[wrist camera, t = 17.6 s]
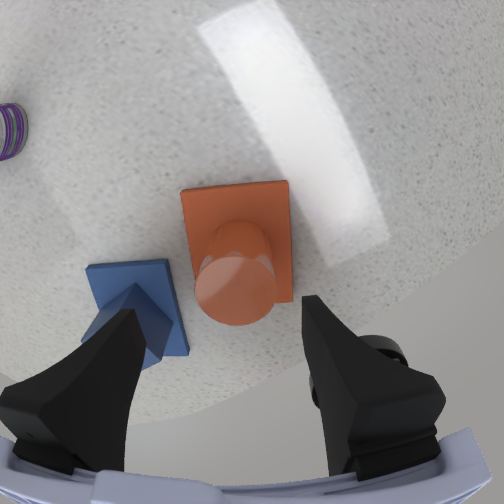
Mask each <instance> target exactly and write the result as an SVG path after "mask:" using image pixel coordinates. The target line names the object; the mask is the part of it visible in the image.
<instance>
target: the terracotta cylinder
mask: <svg viewBox="0 0 504 504" xmlns="http://www.w3.org/2000/svg"><path fill="white" fill-rule="evenodd" d="M195 296H196V299H197V302H198V304H199V306H200V307H201V309H202V310H203V311H204V312H205V313H206V314H207V315H208V316H209V317H211V318H212V319H214V320H216V321H218V322H220V323H224V324H228V325H247V324H251V323H254V322H256V321H258V320H260V319H261V318H263V317H264V316H265V315H267V314H268V313H269V311H270V310H271V309H272V307H273V306H274V304H275V301H276V298H277V283H276V276H275V268H274V261H273V254H272V247H271V242H270V239H269V237H268V236H267V234H266V233H265V231H264V230H263V229H262V228H260V227H259V226H258V225H256V224H254V223H251V222H248V221H243V220H235V221H230V222H227V223H224V224H222V225H221V226H219V227H218V228H217V229H216V230H215V231H214V232H213V233H212V235H211V237H210V239H209V241H208V244H207V247H206V250H205V253H204V257H203V260H202V263H201V266H200V269H199V272H198V275H197V278H196V282H195Z"/></svg>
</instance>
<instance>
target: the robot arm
mask: <svg viewBox="0 0 504 504" xmlns="http://www.w3.org/2000/svg"><path fill="white" fill-rule="evenodd" d="M302 339H303V345H304V351H305V356H306V359H307V362H308V366H309V369H310V373H311V376H312V379H313V383H314V386H315V389H316V393H317V396H318V401H319V405H320V411H321V417H322V423H323V430H324V437H325V444H326V452H327V460H328V469H329V477H325V478H318V479H312V480H304V481H296V482H288V483H276V484H265V485H242V486H213V485H212V484H208V483H205V482H201V481H197V480H189V479H181V478H168V477H157V476H148V475H140V474H132V473H126V472H124V457H125V441H126V431H127V424H128V417H129V411H130V406H131V402H132V399H133V395H134V392H135V389H136V386H137V382H138V379H139V376H140V373H141V369H142V366H143V363H144V357H145V351H146V345H147V342H146V340H145V337H144V334H143V332H142V329H141V326H140V324H139V321H138V318H137V315H136V312H135V309H134V308H129V309H121V310H120V311H119V312H117V313H116V314H115V315H114V316H113V317H112V318H111V319H110V320H108V321H107V322H106V323H105V324H104V325H103V326H102V327H101V328H100V329H99V330H98V331H97V332H96V333H94V334H93V335H92V336H91V337H90V338H89V339H88V340H86V341H85V342H84V343H83V344H82V345H81V346H80V347H78V348H77V349H76V350H75V351H73V352H72V353H71V354H69V355H68V356H67V357H65V358H64V359H62V360H61V361H59V362H58V363H56V364H55V365H53V366H51V367H50V368H48V369H46V370H45V371H43V372H41V373H39V374H37V375H35V376H33V377H31V378H29V379H26V380H24V381H22V382H19V383H16V384H13V385H11V386H8V387H5V388H4V390H3V392H2V394H1V396H0V420H1V421H2V423H3V424H4V425H5V426H6V427H7V428H8V429H9V430H10V431H11V432H12V433H13V434H14V435H15V436H16V437H17V441H16V443H14V442H12V441H11V440H9V439H6V438H4V437H2V436H0V493H2V494H3V495H4V496H6V497H7V498H9V499H10V500H12V501H14V502H16V503H18V504H460V503H462V502H463V501H465V500H466V499H467V498H469V497H470V496H471V495H473V494H474V493H475V492H477V491H478V490H479V489H481V488H482V487H483V486H484V485H485V484H487V483H488V482H489V481H490V480H492V475H491V472H490V470H489V468H488V465H487V463H486V461H485V459H484V456H483V454H482V452H481V450H480V448H479V445H478V443H477V441H476V439H475V437H474V435H473V433H472V431H471V429H470V428H466V429H463V430H460V431H458V432H456V433H453V434H450V435H448V436H446V437H444V438H442V439H441V440H439V441H438V442H437V439H436V437H435V435H436V434H437V429H436V427H435V425H434V423H435V422H436V420H437V418H438V416H439V415H440V413H441V412H442V410H443V408H444V405H445V403H446V397H445V395H444V394H443V391H442V389H441V388H440V386H439V384H438V383H437V381H436V380H435V378H434V377H433V376H431V375H428V374H425V373H422V372H419V371H416V370H414V369H411V368H409V367H407V366H404V365H402V364H400V361H399V359H398V358H395V359H390V358H388V357H387V356H385V355H383V354H382V353H380V352H378V351H377V350H375V349H374V348H372V347H371V346H369V345H368V344H367V343H365V342H364V341H362V340H361V339H360V338H359V337H357V336H356V335H355V334H354V333H353V332H352V331H351V330H349V329H348V328H347V327H346V326H345V325H344V324H343V323H342V322H341V321H340V320H339V319H338V318H337V317H336V316H335V315H334V314H333V313H332V312H331V310H330V309H329V308H328V307H327V306H326V305H325V304H324V303H323V301H322V300H321V299H320V298H319V297H318V296H317V295H311V296H302Z"/></svg>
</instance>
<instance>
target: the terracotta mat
mask: <svg viewBox="0 0 504 504" xmlns="http://www.w3.org/2000/svg"><path fill="white" fill-rule="evenodd" d="M180 194H181V201H182V207H183V214H184V220H185V226H186V232H187V238H188V243H189V249H190V255H191V260H192V266H193V271H194V276H195V281H196V278H197V275H198V272H199V269H200V266H201V263H202V260H203V257H204V253H205V250H206V247H207V244H208V241H209V239H210V237H211V235H212V233H213V232H214V231H215V230H216V229H217V228H218V227H219V226H221V225H222V224H224V223H227V222H230V221H235V220H243V221H248V222H251V223H254V224H256V225H258V226H259V227H260V228H262V229H263V230H264V231H265V233H266V234H267V236H268V237H269V239H270V242H271V247H272V254H273V261H274V268H275V276H276V283H277V298H276V301H275V303H287V302H293V285H292V253H291V228H290V206H289V187H288V182H287V180H283V181H269V182H256V183H244V184H233V185H222V186H212V187H203V188H194V189H185V190H182V191H181V192H180Z"/></svg>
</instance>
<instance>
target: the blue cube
mask: <svg viewBox="0 0 504 504" xmlns="http://www.w3.org/2000/svg"><path fill="white" fill-rule="evenodd" d="M129 308H134V309H135V312H136V315H137V318H138V321H139V324H140V326H141V329H142V332H143V334H144V337H145V340H146V342H147V345H146V351H145V357H144V363H143V366H142V369H141V371H142V370H144V369H146V368H148V367H150V366H152V365H154V364H156V363H158V362H160V361H161V360H162V357H163V354H164V351H165V347H166V344H167V341H168V338H169V335H170V332H171V329H172V326H173V322H172V321H171V320H170V318H169V317H168V316H167V315H166V314H165V313H164V312H163V311H162V310H161V309H160V308H159V307H158V306H157V305H156V304H155V303H154V302H153V301H152V300H151V298H150V297H149V296H148V295H147V294H146V293H145V292H144V291H143V290H142V289H141V288H140V287H139V285H138V284H137V283H134V284H133V285H132V286H130V287H129V288H127V289H126V290H125V291H123V292H122V293H121V294H119V295H118V296H117V297H115V298H114V299H113V300H111V301H110V302H109V303H107V304H106V305H105V306H104V307H102V308H101V310H100V311H99V313H98V314H97V316H96V318H95V319H94V321H93V322H92V324H91V325H90V327H89V328H88V330H87V331H86V333H85V335H84V336H83V338H82V339H81V342H82V343H84V342H85V341H86V340H88V339H89V338H90V337H91V336H92V335H93V334H94V333H96V332H97V331H98V330H99V329H100V328H101V327H102V326H103V325H104V324H105V323H106V322H107V321H108V320H110V319H111V318H112V317H113V316H114V315H115V314H116V313H117V312H119V311H120V310H121V309H129Z"/></svg>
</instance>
